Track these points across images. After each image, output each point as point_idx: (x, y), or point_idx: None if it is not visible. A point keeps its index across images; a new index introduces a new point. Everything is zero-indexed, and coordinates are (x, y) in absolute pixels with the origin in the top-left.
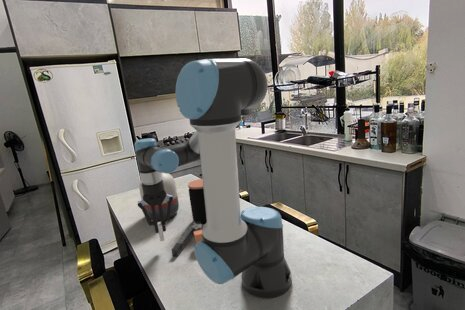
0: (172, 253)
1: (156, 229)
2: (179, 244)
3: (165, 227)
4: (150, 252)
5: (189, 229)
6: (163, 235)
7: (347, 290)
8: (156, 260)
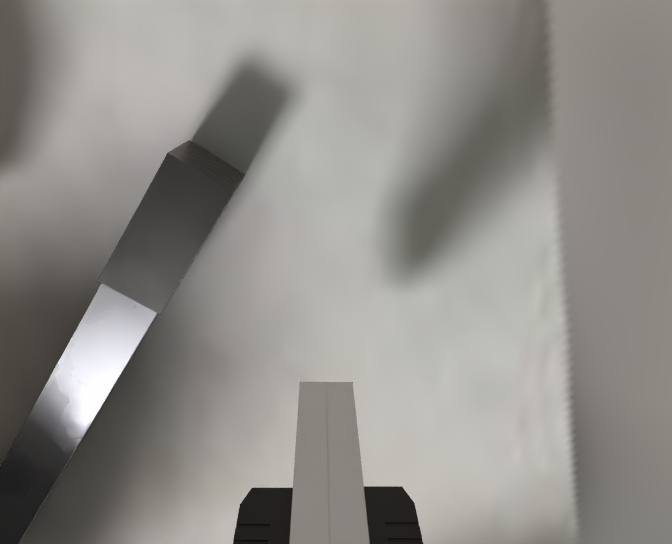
0: (237, 179)
1: (399, 539)
2: (125, 267)
3: (234, 539)
4: (460, 354)
5: (5, 525)
6: (299, 428)
7: None
8: (423, 184)
